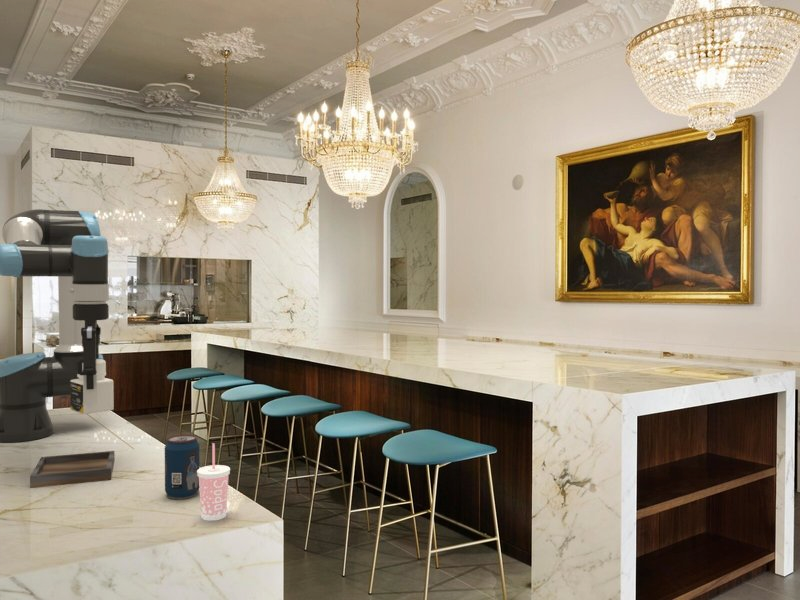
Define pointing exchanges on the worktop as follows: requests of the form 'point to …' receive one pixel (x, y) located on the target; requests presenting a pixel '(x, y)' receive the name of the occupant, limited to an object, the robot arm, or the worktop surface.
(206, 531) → the worktop surface
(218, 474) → the beverage cup
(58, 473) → the wooden tray
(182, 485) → the soda can
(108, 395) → the medicine bottle
